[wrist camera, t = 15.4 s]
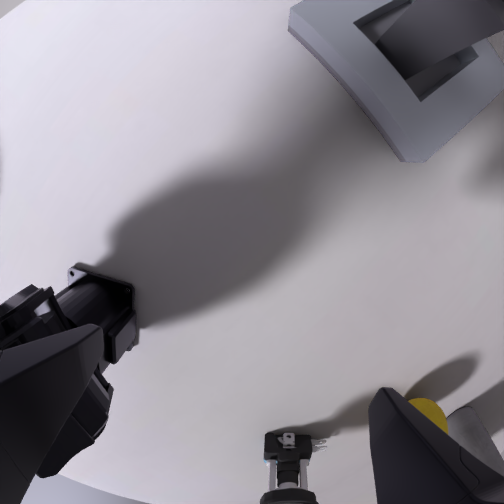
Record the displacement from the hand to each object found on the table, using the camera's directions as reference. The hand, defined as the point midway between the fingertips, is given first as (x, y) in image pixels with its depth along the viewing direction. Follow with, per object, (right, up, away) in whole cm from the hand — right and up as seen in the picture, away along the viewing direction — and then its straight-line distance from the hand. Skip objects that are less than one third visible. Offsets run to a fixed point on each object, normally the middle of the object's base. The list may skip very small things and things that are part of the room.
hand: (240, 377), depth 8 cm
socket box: (+11, +18, +7) cm, 23 cm away
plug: (+11, +18, +6) cm, 22 cm away
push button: (+5, -16, +18) cm, 24 cm away
